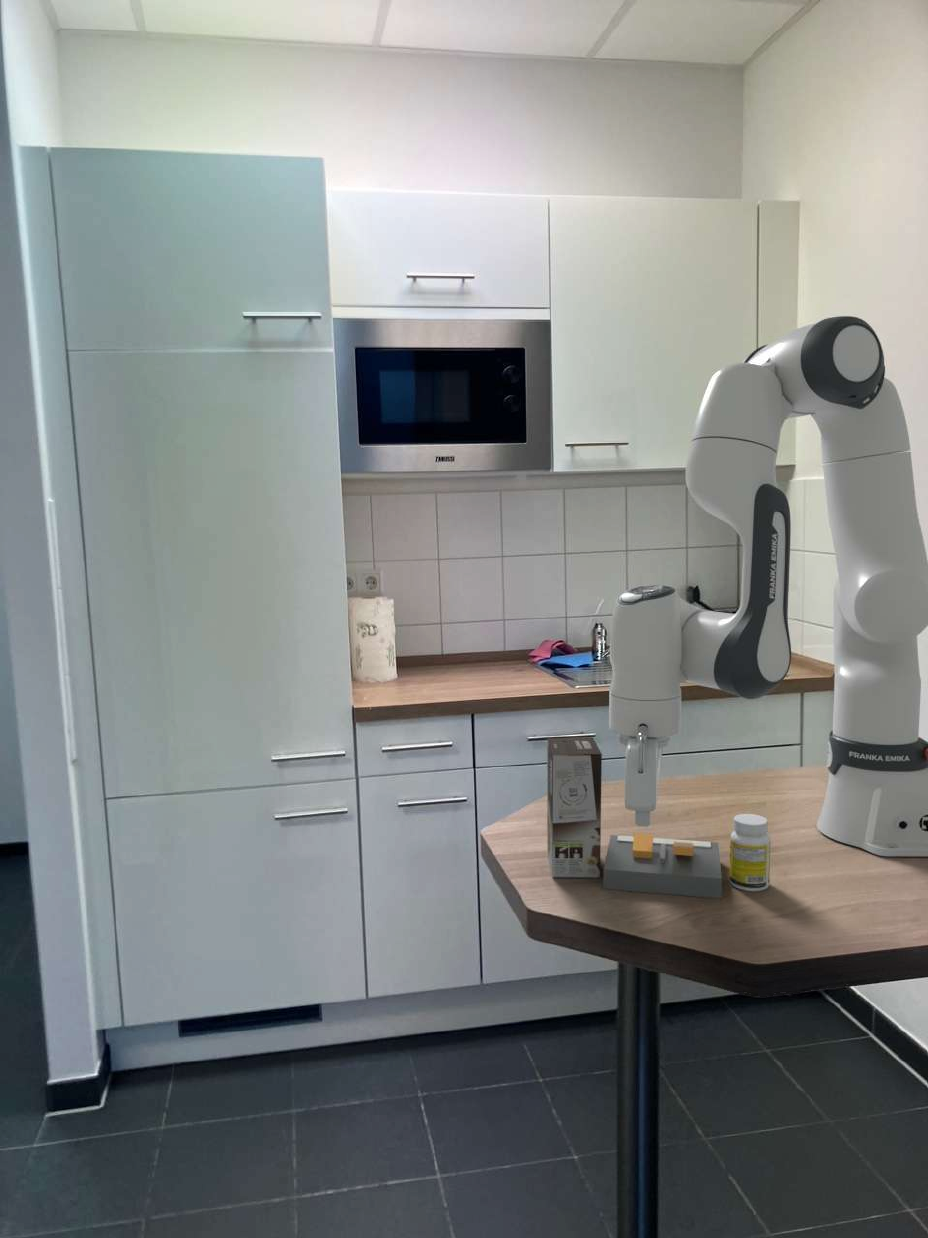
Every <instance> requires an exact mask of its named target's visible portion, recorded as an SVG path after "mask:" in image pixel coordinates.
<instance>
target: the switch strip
mask: <svg viewBox="0 0 928 1238" xmlns="http://www.w3.org/2000/svg"><path fill="white" fill-rule="evenodd" d="M608 841H609V842H608V847H607V852H606V856H605V861H604V865H603V875H602V876H603V878H602V879H603V883H602V884H603V888H602V889H603V890H604V889H605V890H612V891H613V890H614V891H627V892H628V891H629V892H637V893H638V892H639V893H649V894H650V893H651V894H661V895H662V894H663V895H674V896H684V897H685V896H686V897H696V898H697V897H699V898H708V899H709V898H710V899H722V898H723V896H722V891H723V890H722V889H723V887H722V886H723V877H722V867H721V866H722V865H721V858H720V857H721V856H720V848H719V842H715V841H714V842H713V841H712V842H711V841H705V840H704V841H701V840H690V839H687V840H685V839H673V838H662V837H661V838H659V837H653V851H652V859H650V858H636V857H633V841H634V835H633V836H630V835H616V834H614V835H613V834H611V835H610V838H609V840H608ZM674 842H687V843H693V856H687V855H674V854H673V848H674Z"/></svg>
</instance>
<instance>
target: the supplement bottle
mask: <svg viewBox="0 0 928 1238" xmlns="http://www.w3.org/2000/svg"><path fill="white" fill-rule="evenodd" d="M768 821H769V820H768V819H767V818H766V817H764V816H762V815H758V814H752V813H740V814H737V815H735V816H734V817H733V825H732V827H733V831H732V832H731V833H730V839H729V841H730V844H729V849H730V850H729V852H730V853H729V882H730V884H731V886H733V887H734V888H737V889H739V890H742V891H747V892H761V891H764V890H767V889H768V888H769V886H770V882H771V881H770V877H771V876H770V875H771V874H770V873H771V872H770V870H771V869H770V868H771V837H770V835H769V834H768V830H769V829H768V827H769V826H768V825H769V824H768V823H769V822H768Z"/></svg>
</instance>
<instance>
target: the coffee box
mask: <svg viewBox="0 0 928 1238" xmlns="http://www.w3.org/2000/svg"><path fill="white" fill-rule="evenodd" d="M602 758H603V754H602V752H601V750H600V748H599V746H598V745H597V742H596V741H595V739H594V738H593V737H590V736H589V737H588V736H578V737H577V736H574V737H573V736H571V737H562V738H560V737H559V738H558V737H555V738H554V737H553V738H551V737H550V738H549V737H548V738H546V790H547V791H546V793H547V794H546V796H547V797H546V800H547V801H546V804H547V805H546V806H547V807H546V808H547V812H546V813H547V814H546V815H547V818H546V819H547V821H546V824H547V831H546V832H547V857H548V861H549V866H550V872H551V877H552V878H586V879H587V878H589V879H593V878H595V879H597V878H598V879H599V878H600V877H601V845H602V844H601V843H602V842H601V839H602V838H601V837H602V835H601V833H602V832H601V831H602V830H601V829H602V827H601V826H602V825H601V824H602V818H601V817H602V772H603V771H602V768H603V767H602V765H603V763H602V761H603V759H602Z"/></svg>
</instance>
